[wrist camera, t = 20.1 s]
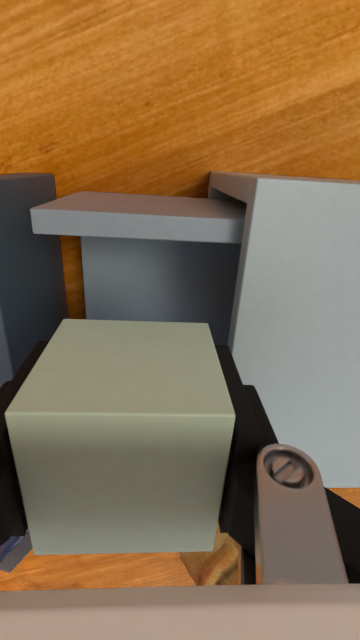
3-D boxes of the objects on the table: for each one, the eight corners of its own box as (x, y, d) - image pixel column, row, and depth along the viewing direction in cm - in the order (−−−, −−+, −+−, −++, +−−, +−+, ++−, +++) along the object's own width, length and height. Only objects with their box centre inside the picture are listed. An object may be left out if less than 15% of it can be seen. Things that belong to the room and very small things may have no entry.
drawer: (-26, 363, 21) (-120, 463, 14) (-74, 165, 16) (-252, 167, 9) (257, 368, 22) (301, 462, 15) (291, 188, 18) (378, 205, 11)
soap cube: (74, 429, 12) (33, 556, 8) (63, 318, 10) (2, 413, 6) (196, 430, 12) (213, 552, 8) (208, 322, 10) (236, 415, 6)
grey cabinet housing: (192, 367, 23) (211, 489, 14) (210, 170, 18) (257, 177, 9) (389, 371, 24) (517, 486, 16) (462, 187, 19) (718, 206, 10)
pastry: (342, 548, 33) (392, 654, 26) (201, 583, 35) (212, 693, 28) (326, 460, 28) (384, 564, 21) (158, 506, 29) (158, 619, 22)
